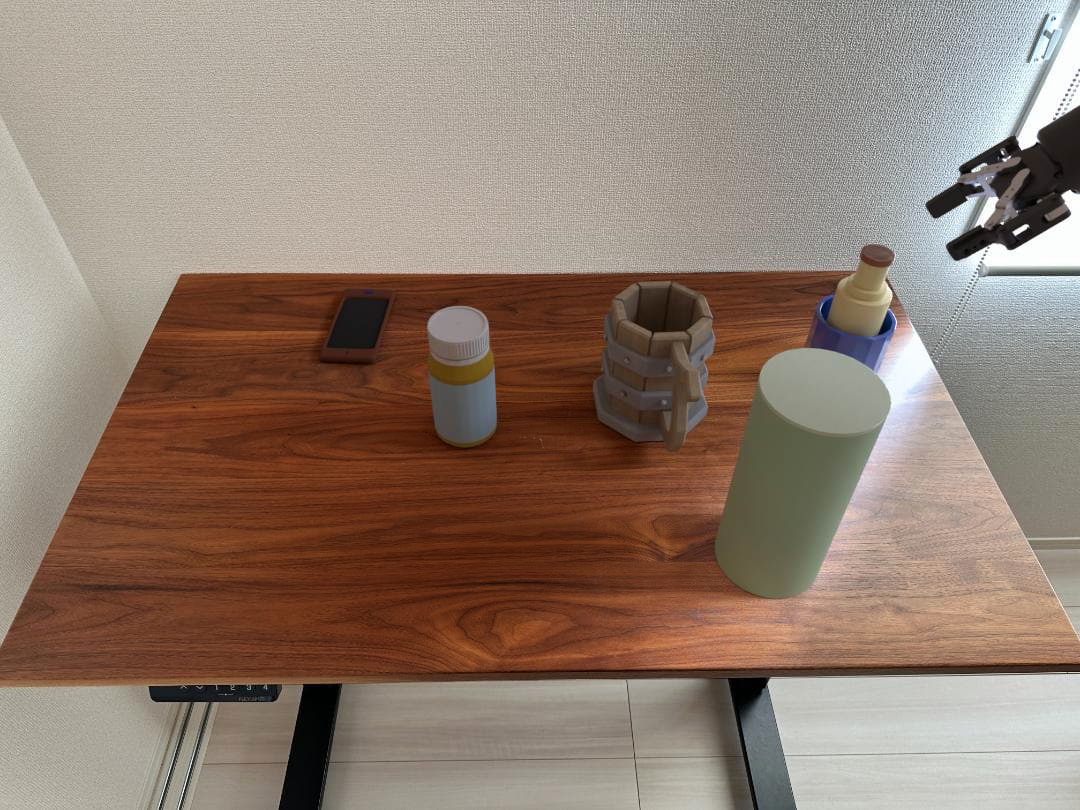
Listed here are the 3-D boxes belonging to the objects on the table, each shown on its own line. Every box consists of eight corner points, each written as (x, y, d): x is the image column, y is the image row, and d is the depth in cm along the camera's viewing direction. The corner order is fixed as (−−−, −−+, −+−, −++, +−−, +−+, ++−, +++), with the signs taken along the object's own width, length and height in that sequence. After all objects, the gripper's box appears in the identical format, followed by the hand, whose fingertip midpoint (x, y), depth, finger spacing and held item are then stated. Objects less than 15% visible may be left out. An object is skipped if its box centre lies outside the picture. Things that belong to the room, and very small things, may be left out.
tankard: (588, 371, 95) (595, 268, 85) (689, 366, 96) (708, 264, 86) (611, 495, 81) (623, 389, 71) (729, 489, 82) (758, 383, 71)
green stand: (827, 535, 77) (899, 369, 62) (806, 615, 71) (880, 450, 56) (730, 501, 80) (776, 335, 65) (701, 574, 74) (744, 408, 59)
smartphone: (395, 288, 106) (373, 358, 95) (396, 294, 107) (374, 364, 96) (344, 287, 106) (316, 356, 95) (345, 292, 107) (318, 362, 96)
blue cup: (880, 356, 98) (901, 305, 92) (869, 400, 92) (890, 348, 86) (808, 337, 101) (824, 286, 95) (793, 377, 95) (809, 326, 89)
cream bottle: (867, 356, 97) (910, 246, 86) (859, 385, 93) (903, 273, 82) (819, 343, 99) (855, 233, 88) (809, 370, 95) (845, 259, 84)
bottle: (459, 400, 91) (449, 295, 81) (508, 421, 89) (505, 316, 78) (423, 436, 87) (408, 330, 77) (474, 459, 84) (466, 354, 74)
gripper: (1062, 76, 77) (906, 176, 86) (1124, 138, 67) (939, 244, 76) (1091, 131, 80) (938, 222, 89) (1154, 198, 70) (974, 293, 79)
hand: (939, 232), depth 82 cm, fingers open, 8 cm apart
